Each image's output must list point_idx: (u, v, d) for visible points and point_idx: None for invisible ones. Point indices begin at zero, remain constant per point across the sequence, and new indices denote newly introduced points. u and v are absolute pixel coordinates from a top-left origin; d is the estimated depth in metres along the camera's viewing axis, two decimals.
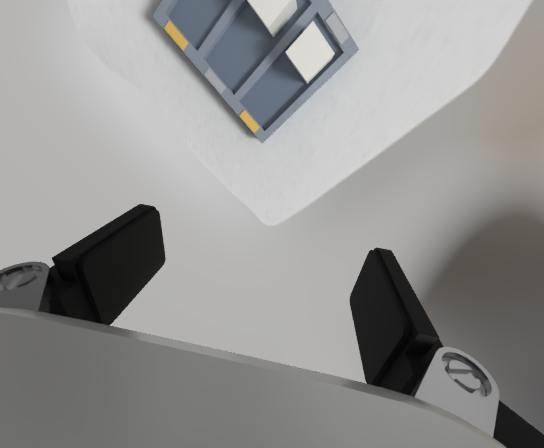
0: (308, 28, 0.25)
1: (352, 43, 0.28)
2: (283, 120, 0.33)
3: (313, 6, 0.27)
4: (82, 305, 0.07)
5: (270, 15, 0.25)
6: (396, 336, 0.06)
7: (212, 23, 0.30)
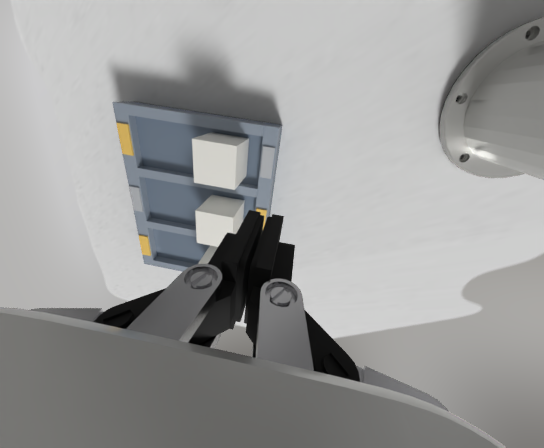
0: None
1: None
2: (174, 268, 0.33)
3: None
4: (233, 302, 0.08)
5: (204, 239, 0.25)
6: None
7: (172, 164, 0.26)
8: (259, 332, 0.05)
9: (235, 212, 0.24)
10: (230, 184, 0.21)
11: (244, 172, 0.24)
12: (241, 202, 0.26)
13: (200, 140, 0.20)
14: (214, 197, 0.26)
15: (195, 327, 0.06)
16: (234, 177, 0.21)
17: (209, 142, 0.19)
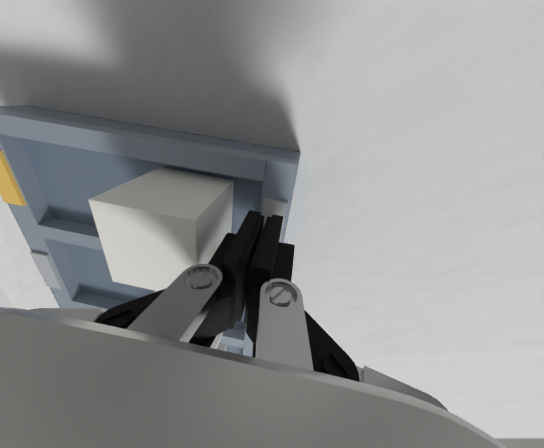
0: None
1: None
2: None
3: (242, 342, 0.17)
4: (234, 302, 0.08)
5: None
6: None
7: None
8: (259, 332, 0.05)
9: None
10: None
11: None
12: None
13: (109, 203, 0.08)
14: None
15: (195, 327, 0.06)
16: None
17: (129, 209, 0.08)
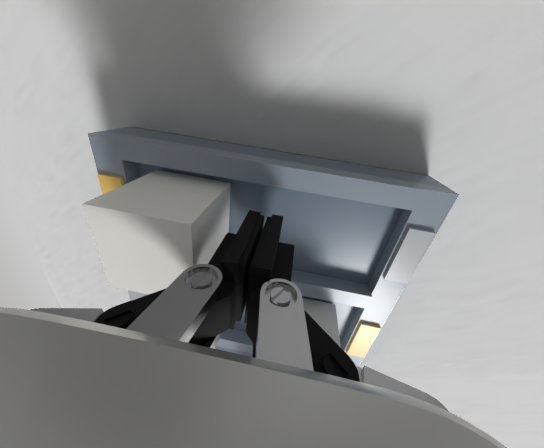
0: None
1: None
2: None
3: None
4: (234, 302, 0.08)
5: None
6: None
7: None
8: (259, 332, 0.05)
9: None
10: None
11: None
12: (333, 312, 0.14)
13: (103, 207, 0.08)
14: None
15: (195, 327, 0.06)
16: None
17: (124, 213, 0.08)
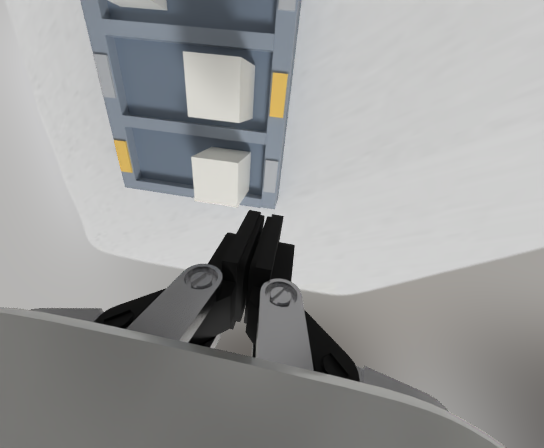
0: (229, 164, 0.18)
1: (273, 199, 0.24)
2: (163, 191, 0.25)
3: (265, 137, 0.21)
4: (234, 302, 0.08)
5: (199, 109, 0.17)
6: None
7: (150, 13, 0.18)
8: (259, 332, 0.05)
9: (243, 59, 0.16)
10: None
11: None
12: (250, 64, 0.18)
13: None
14: None
15: (195, 327, 0.06)
16: None
17: None
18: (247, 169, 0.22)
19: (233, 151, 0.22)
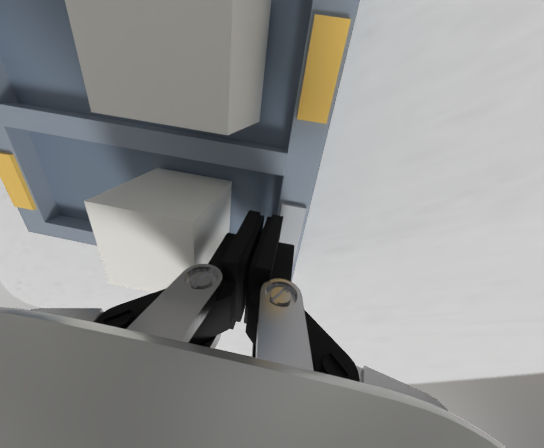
0: (171, 222, 0.08)
1: None
2: (95, 242, 0.14)
3: (284, 161, 0.10)
4: (234, 302, 0.08)
5: (117, 92, 0.06)
6: None
7: None
8: (259, 332, 0.05)
9: None
10: None
11: None
12: None
13: None
14: None
15: (195, 327, 0.06)
16: None
17: None
18: (223, 215, 0.11)
19: (196, 180, 0.11)
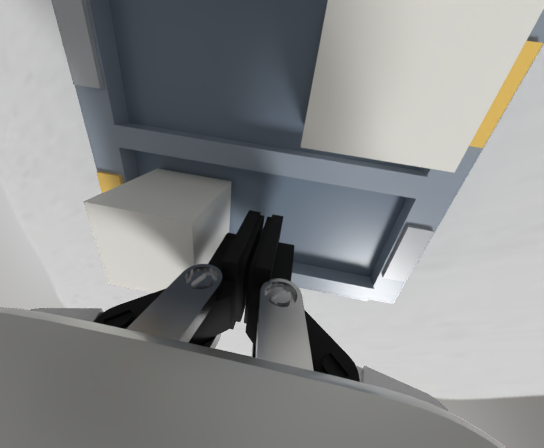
0: (171, 222, 0.08)
1: (396, 290, 0.13)
2: None
3: (422, 184, 0.10)
4: (234, 302, 0.08)
5: (341, 128, 0.06)
6: None
7: None
8: (259, 332, 0.05)
9: None
10: None
11: None
12: None
13: None
14: None
15: (195, 327, 0.06)
16: None
17: None
18: (223, 216, 0.11)
19: (196, 180, 0.11)
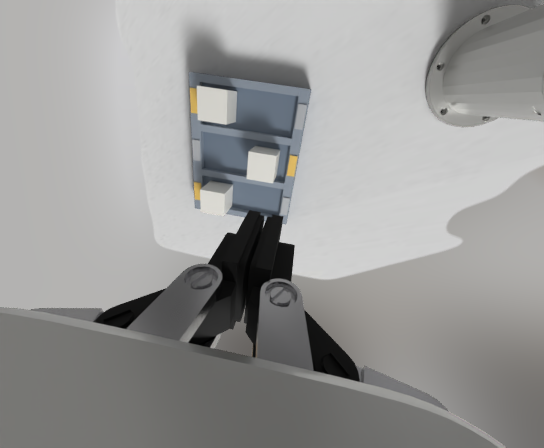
0: (219, 194, 0.35)
1: (285, 218, 0.40)
2: None
3: (283, 185, 0.37)
4: (234, 302, 0.08)
5: (253, 176, 0.33)
6: None
7: None
8: (259, 332, 0.05)
9: (276, 154, 0.32)
10: (223, 120, 0.30)
11: (234, 117, 0.33)
12: (278, 150, 0.34)
13: (202, 86, 0.28)
14: (257, 147, 0.35)
15: (195, 327, 0.06)
16: (226, 114, 0.30)
17: (208, 88, 0.28)
18: (230, 194, 0.39)
19: (223, 184, 0.38)
